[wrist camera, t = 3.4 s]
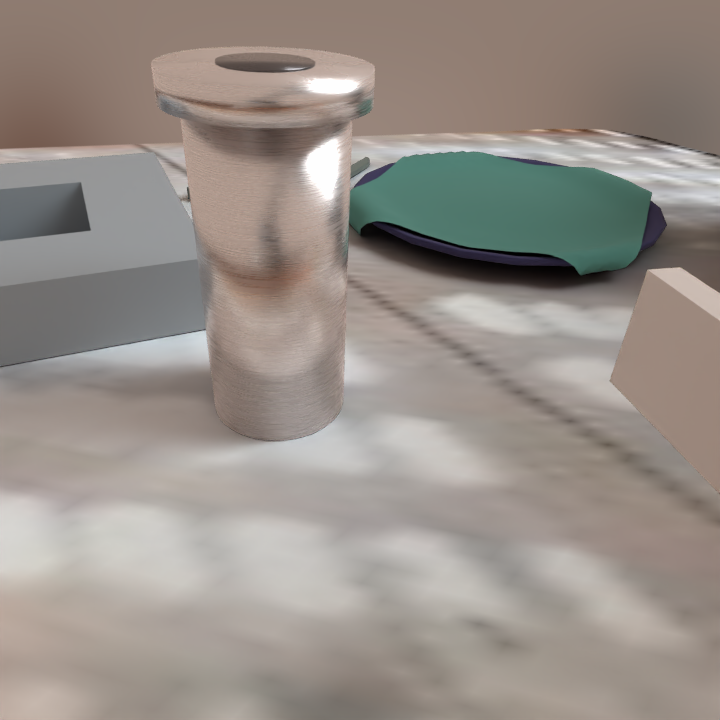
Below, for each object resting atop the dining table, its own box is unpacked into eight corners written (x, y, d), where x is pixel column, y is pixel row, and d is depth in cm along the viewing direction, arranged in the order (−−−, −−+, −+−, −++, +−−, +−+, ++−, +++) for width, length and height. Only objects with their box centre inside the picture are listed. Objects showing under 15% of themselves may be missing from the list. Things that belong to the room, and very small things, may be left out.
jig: (161, 206, 40) (153, 152, 38) (218, 326, 28) (211, 257, 26) (-131, 237, 34) (-159, 176, 32) (-214, 405, 23) (-265, 323, 21)
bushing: (324, 342, 28) (327, 42, 21) (384, 427, 23) (414, 77, 16) (184, 370, 25) (136, 45, 18) (220, 470, 21) (172, 87, 14)
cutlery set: (647, 326, 30) (661, 284, 29) (162, 217, 40) (157, 182, 39) (664, 205, 45) (673, 174, 44) (308, 148, 56) (308, 121, 54)
